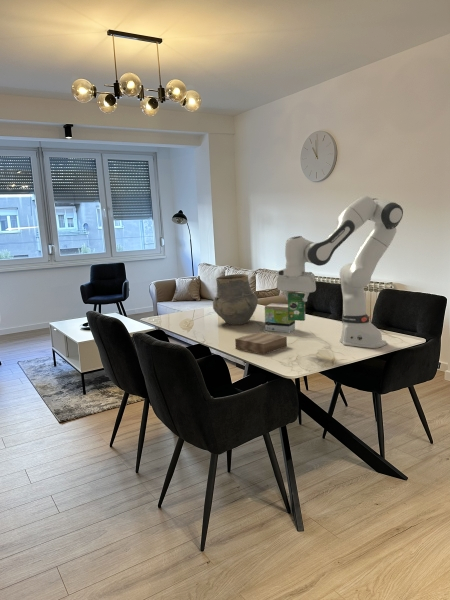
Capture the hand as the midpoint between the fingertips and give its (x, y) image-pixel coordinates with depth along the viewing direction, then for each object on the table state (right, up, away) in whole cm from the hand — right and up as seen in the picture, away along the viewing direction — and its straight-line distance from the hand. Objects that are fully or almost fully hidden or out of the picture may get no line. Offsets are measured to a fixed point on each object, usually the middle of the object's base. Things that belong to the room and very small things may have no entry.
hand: (296, 300), depth 214 cm
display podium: (-16, -23, +12) cm, 30 cm away
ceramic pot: (-27, -14, +74) cm, 80 cm away
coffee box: (+1, -9, +2) cm, 10 cm away
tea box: (-2, -17, +48) cm, 51 cm away
